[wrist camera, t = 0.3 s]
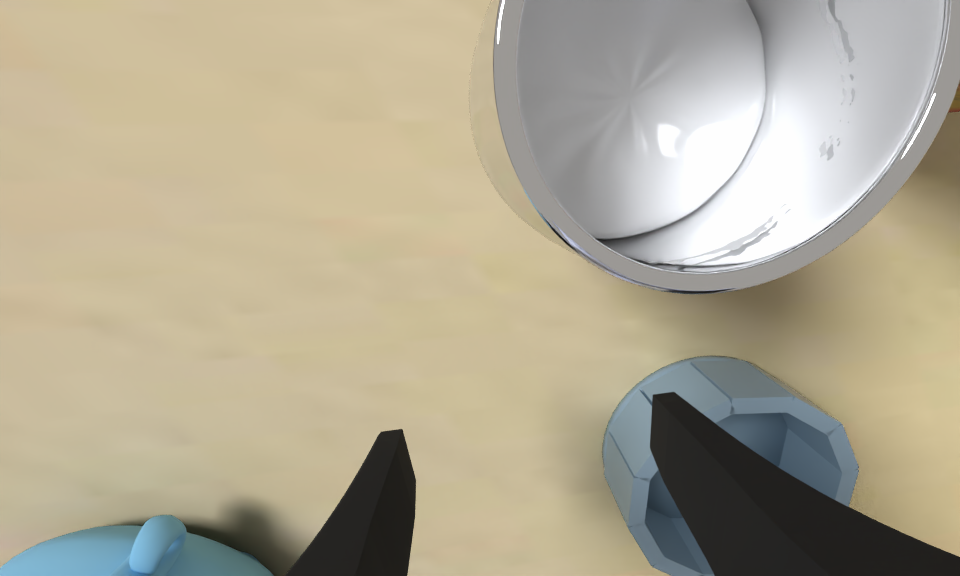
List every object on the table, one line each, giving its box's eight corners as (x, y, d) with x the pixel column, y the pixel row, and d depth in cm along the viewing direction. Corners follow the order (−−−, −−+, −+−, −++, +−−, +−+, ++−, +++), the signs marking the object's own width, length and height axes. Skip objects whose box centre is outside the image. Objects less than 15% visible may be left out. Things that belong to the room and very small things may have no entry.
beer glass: (457, 46, 19) (455, -273, 5) (617, 36, 19) (1072, -297, 5) (469, 209, 21) (491, 325, 7) (613, 198, 21) (930, 291, 7)
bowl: (710, 542, 28) (755, 612, 24) (565, 474, 26) (586, 538, 22) (828, 406, 26) (902, 457, 21) (677, 320, 24) (726, 357, 19)
